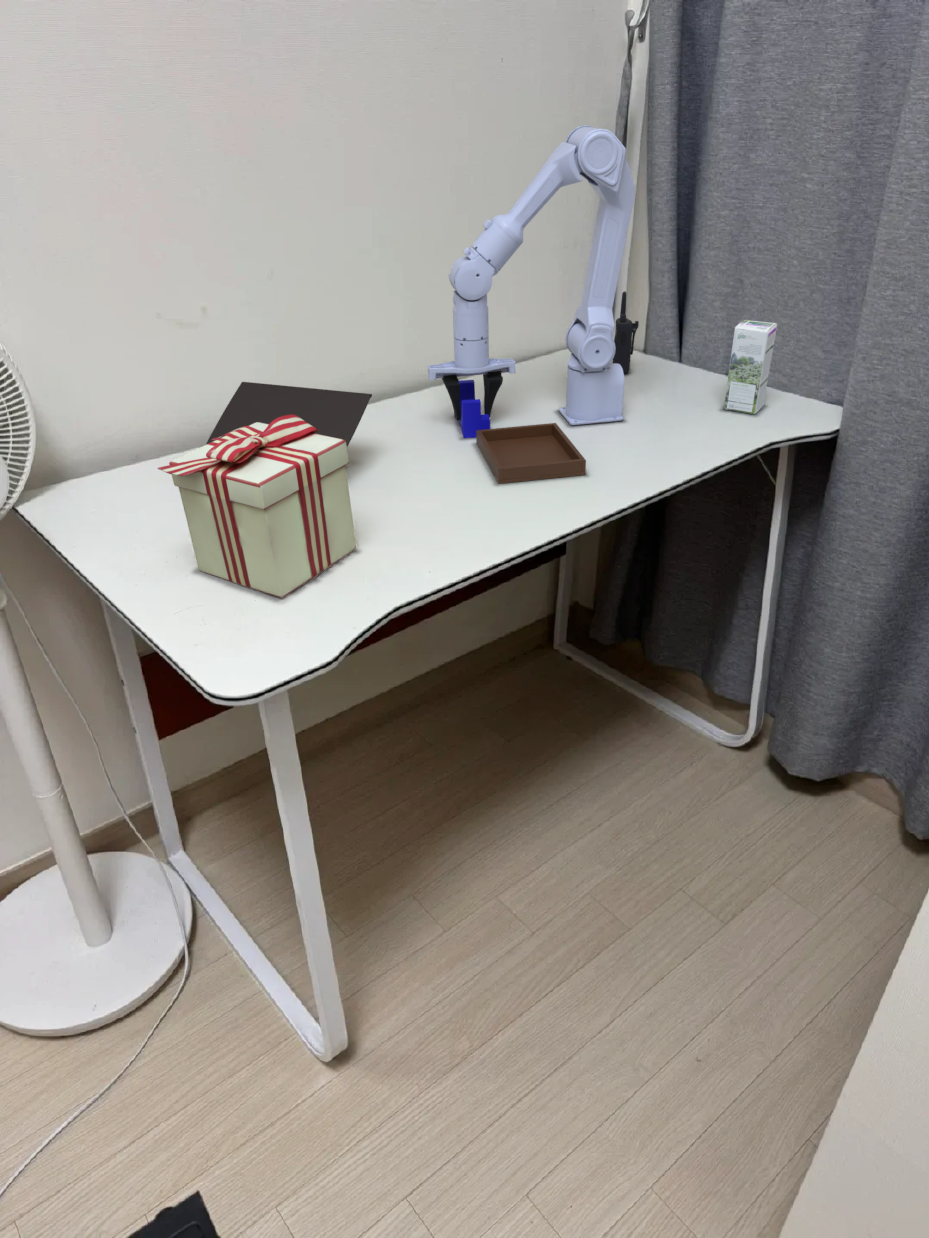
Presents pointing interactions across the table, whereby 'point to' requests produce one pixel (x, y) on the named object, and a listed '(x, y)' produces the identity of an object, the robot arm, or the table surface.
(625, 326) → the two-way radio
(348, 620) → the table surface
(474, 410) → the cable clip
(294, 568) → the gift box
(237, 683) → the table surface
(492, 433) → the tray
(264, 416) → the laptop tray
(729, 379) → the syrup box
